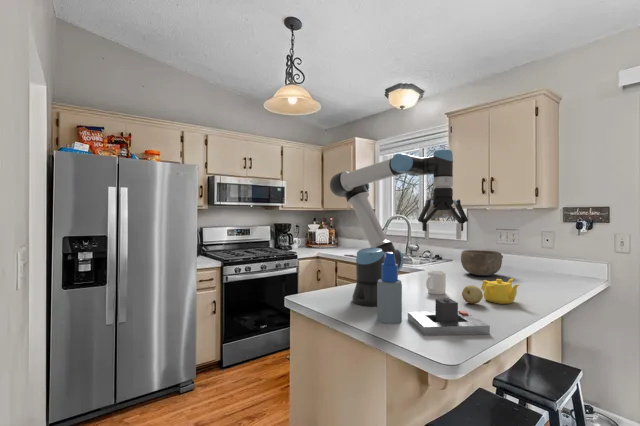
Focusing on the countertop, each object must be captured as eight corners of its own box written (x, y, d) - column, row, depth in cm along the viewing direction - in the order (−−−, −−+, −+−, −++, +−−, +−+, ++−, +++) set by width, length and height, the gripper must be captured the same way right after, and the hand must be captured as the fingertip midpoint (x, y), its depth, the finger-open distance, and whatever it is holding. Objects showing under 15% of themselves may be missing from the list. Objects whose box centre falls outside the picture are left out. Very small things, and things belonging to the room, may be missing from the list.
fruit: (459, 301, 148) (459, 283, 148) (478, 301, 148) (478, 283, 148) (466, 306, 141) (466, 287, 141) (486, 306, 141) (486, 287, 141)
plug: (442, 329, 113) (442, 299, 113) (435, 324, 119) (435, 295, 119) (457, 329, 113) (457, 299, 113) (450, 323, 119) (450, 295, 119)
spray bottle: (380, 324, 118) (381, 254, 118) (374, 316, 127) (374, 251, 127) (405, 323, 119) (405, 253, 119) (397, 315, 128) (397, 250, 128)
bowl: (504, 274, 214) (504, 250, 214) (501, 280, 193) (501, 254, 193) (464, 270, 227) (464, 248, 227) (457, 276, 206) (457, 252, 206)
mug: (433, 297, 156) (434, 275, 156) (419, 293, 163) (419, 272, 163) (449, 293, 163) (449, 272, 163) (434, 290, 170) (434, 269, 170)
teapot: (520, 307, 140) (520, 283, 140) (484, 304, 145) (485, 281, 144) (512, 298, 153) (513, 277, 153) (480, 296, 158) (480, 275, 157)
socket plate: (424, 335, 107) (424, 324, 107) (407, 319, 123) (407, 310, 123) (489, 334, 109) (489, 323, 109) (465, 318, 125) (465, 309, 125)
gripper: (416, 186, 133) (416, 239, 133) (477, 187, 134) (476, 239, 134) (410, 188, 140) (410, 238, 140) (467, 188, 142) (467, 238, 142)
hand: (442, 239), depth 137 cm, fingers open, 13 cm apart
